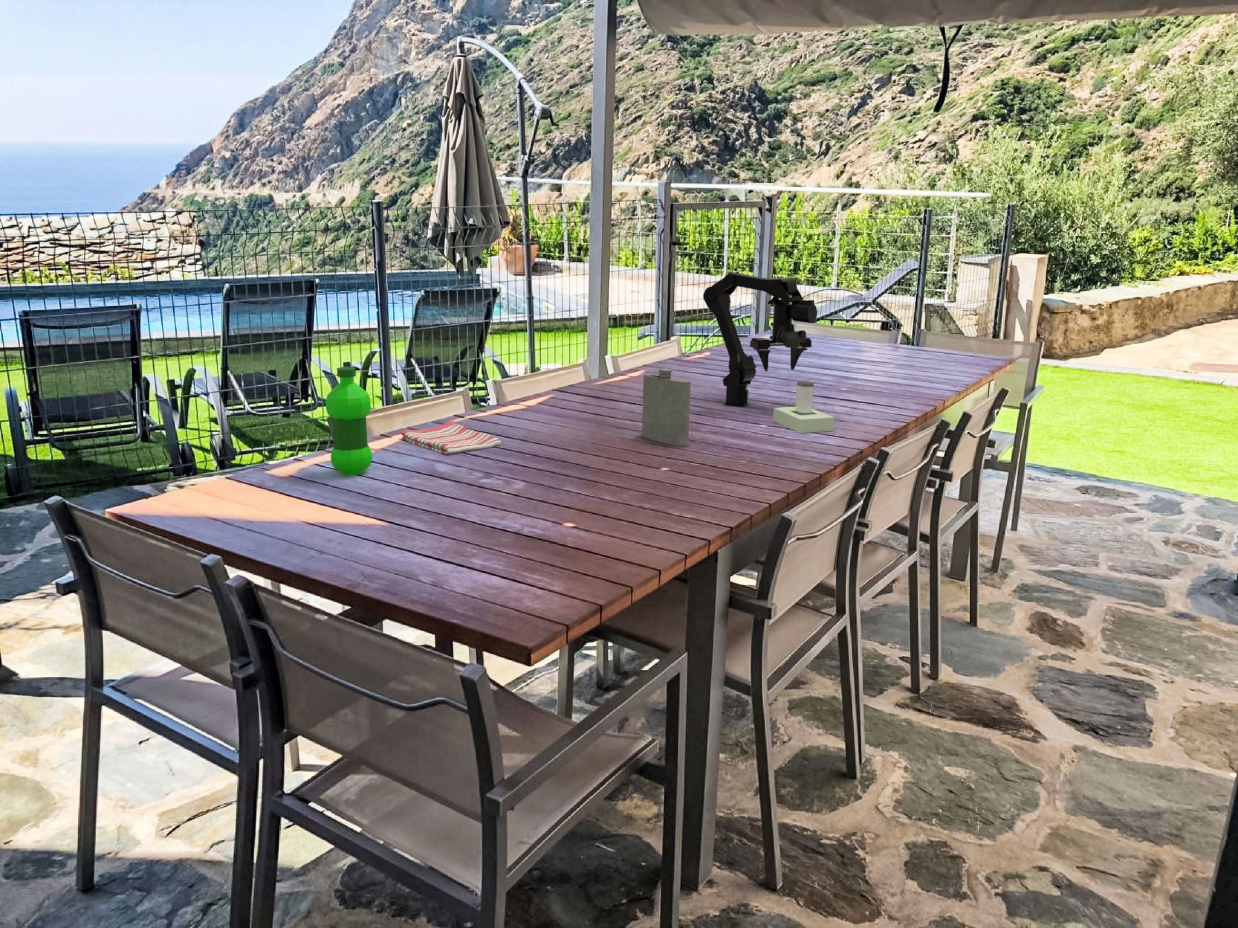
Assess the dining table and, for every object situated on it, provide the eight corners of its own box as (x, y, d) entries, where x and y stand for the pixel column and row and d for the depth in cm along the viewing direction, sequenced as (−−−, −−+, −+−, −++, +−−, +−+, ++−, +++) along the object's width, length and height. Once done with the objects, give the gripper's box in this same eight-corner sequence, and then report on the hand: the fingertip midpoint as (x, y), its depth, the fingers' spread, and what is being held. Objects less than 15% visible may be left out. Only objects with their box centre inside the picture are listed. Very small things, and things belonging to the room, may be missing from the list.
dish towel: (452, 431, 270) (451, 419, 269) (502, 447, 254) (502, 434, 253) (399, 441, 258) (399, 428, 257) (448, 458, 242) (448, 445, 241)
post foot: (772, 421, 287) (773, 408, 286) (804, 418, 290) (805, 405, 289) (800, 433, 272) (801, 419, 271) (833, 430, 276) (834, 417, 275)
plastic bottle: (321, 475, 224) (313, 370, 217) (348, 464, 233) (342, 363, 227) (356, 480, 220) (350, 373, 214) (383, 469, 230) (378, 366, 223)
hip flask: (690, 445, 257) (693, 371, 252) (681, 447, 255) (683, 373, 249) (647, 434, 268) (649, 364, 263) (637, 436, 265) (639, 365, 260)
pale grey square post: (794, 424, 282) (797, 381, 279) (804, 424, 283) (807, 381, 280) (800, 427, 279) (803, 383, 276) (810, 426, 280) (813, 383, 277)
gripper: (768, 324, 282) (765, 376, 286) (823, 322, 288) (819, 373, 292) (750, 319, 292) (747, 370, 296) (803, 318, 298) (800, 367, 302)
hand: (779, 370), depth 296 cm, fingers open, 9 cm apart
